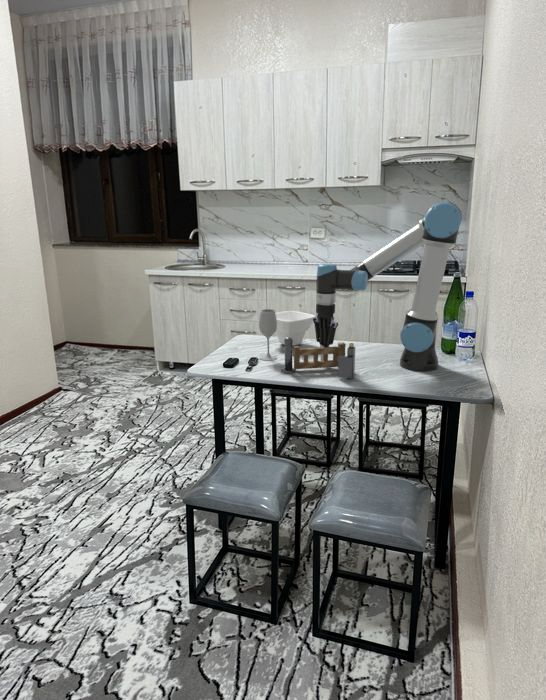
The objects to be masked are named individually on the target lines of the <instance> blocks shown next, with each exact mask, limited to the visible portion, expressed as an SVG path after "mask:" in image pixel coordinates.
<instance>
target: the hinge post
mask: <svg viewBox="0 0 546 700" xmlns="http://www.w3.org/2000/svg"><path fill="white" fill-rule="evenodd" d="M284 343H285V345H284V367H283V368H281V369H280V371H281V373H282V374H290V375H292V374H295V373H297V369H294V367H293V346H292V343H293V340H292V338H290V337H287V338H285V340H284Z"/></svg>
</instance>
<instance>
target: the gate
mask: <svg viewBox="0 0 546 700" xmlns="http://www.w3.org/2000/svg"><path fill="white" fill-rule="evenodd" d="M346 345H347V344H346V343H345V342H338V343H337V346H329V347H320V346H319V347H302V348H301V347H300V346H299V345H293V368H294V369H296V370H305V369H324V368H325V369H326V368H327V369H328V368H338V356H346ZM321 354H323V361H321V360H319V355H320V356H321ZM329 355H332V359H330V360H329ZM301 356H303V361H300V360H301V358H300V357H301ZM309 356H312V357H313V360H312V361H309Z"/></svg>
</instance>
